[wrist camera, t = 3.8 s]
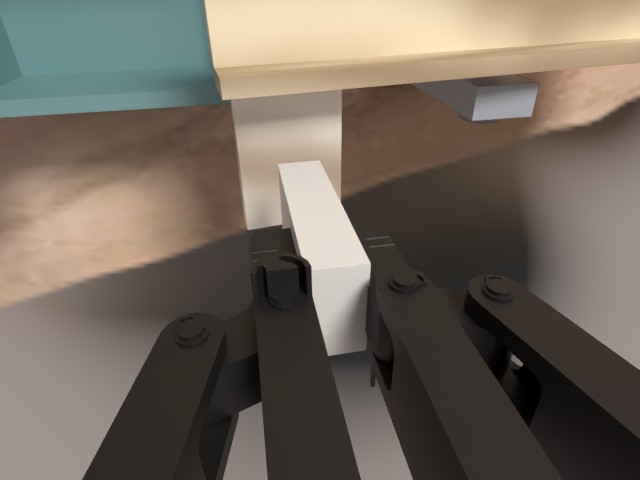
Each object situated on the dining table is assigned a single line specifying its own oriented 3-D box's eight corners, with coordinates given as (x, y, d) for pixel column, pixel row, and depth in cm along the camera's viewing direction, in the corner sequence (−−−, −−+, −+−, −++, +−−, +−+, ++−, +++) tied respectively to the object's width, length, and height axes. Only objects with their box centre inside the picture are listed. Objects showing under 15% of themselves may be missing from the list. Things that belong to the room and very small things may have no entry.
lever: (174, -182, 13) (178, -239, 10) (768, -141, 20) (899, -166, 17) (230, 211, 21) (244, 260, 17) (650, 147, 28) (722, 172, 24)
